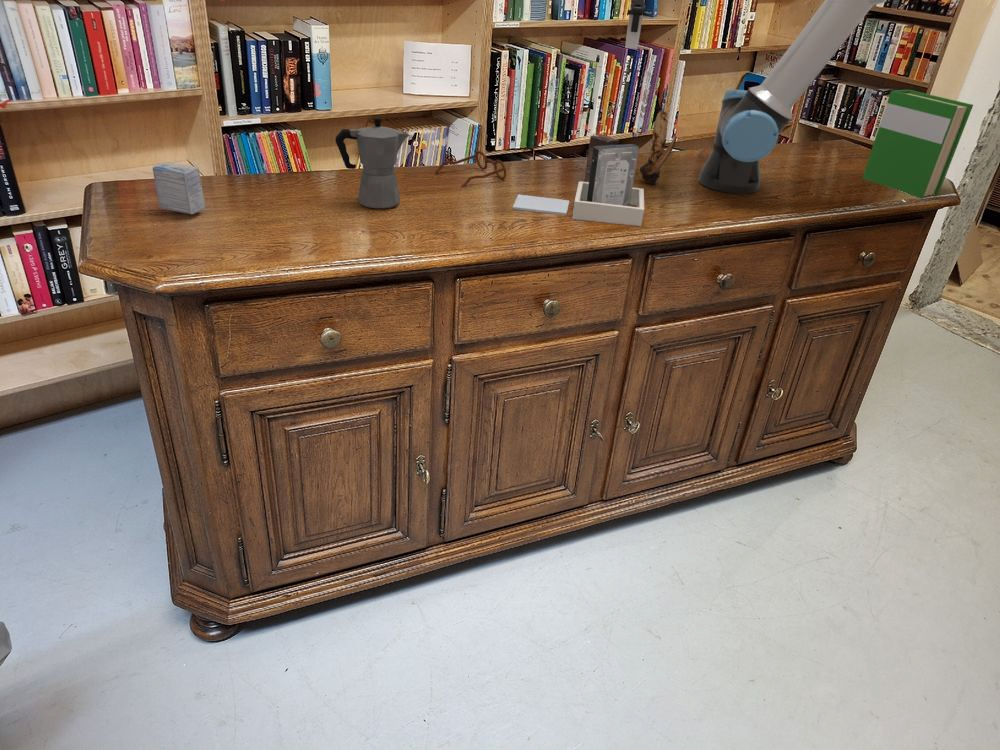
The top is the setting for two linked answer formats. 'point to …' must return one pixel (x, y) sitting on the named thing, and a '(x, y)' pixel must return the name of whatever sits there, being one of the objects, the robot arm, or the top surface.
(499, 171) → the glasses
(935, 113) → the hardback book
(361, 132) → the coffeepot
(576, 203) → the storage box
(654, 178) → the bone fish hook
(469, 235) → the top surface
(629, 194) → the disk drive
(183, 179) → the medicine box
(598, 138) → the box
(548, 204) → the mat
